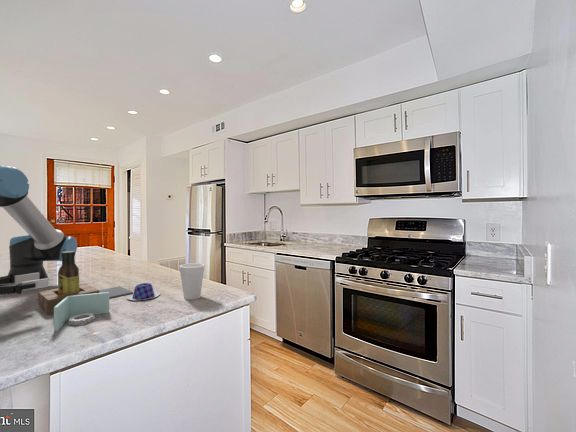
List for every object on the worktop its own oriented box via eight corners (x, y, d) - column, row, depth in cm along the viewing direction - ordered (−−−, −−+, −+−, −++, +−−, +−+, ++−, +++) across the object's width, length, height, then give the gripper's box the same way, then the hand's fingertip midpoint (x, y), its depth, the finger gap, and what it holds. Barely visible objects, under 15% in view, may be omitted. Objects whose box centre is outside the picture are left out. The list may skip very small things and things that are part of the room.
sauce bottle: (58, 303, 107) (57, 251, 106) (79, 300, 111) (78, 249, 110) (58, 308, 102) (57, 253, 101) (79, 304, 106) (78, 251, 105)
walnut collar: (38, 305, 105) (38, 291, 105) (86, 295, 117) (86, 283, 117) (48, 314, 96) (48, 300, 96) (99, 303, 107) (99, 290, 107)
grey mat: (88, 293, 120) (88, 292, 120) (119, 287, 129) (119, 286, 129) (100, 300, 111) (100, 298, 111) (132, 293, 120) (132, 291, 120)
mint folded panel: (54, 332, 83) (53, 307, 83) (67, 318, 94) (66, 296, 94) (102, 326, 88) (102, 302, 88) (109, 313, 99) (109, 292, 99)
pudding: (141, 292, 123) (141, 280, 123) (166, 294, 120) (166, 281, 120) (119, 300, 111) (119, 287, 111) (146, 303, 109) (146, 289, 109)
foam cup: (196, 301, 109) (196, 268, 109) (175, 300, 111) (174, 267, 111) (208, 294, 119) (208, 263, 118) (188, 293, 121) (188, 262, 120)
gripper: (-51, 297, 92) (36, 283, 108) (-49, 315, 76) (52, 296, 92) (-52, 274, 92) (35, 264, 108) (-50, 287, 76) (51, 273, 92)
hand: (43, 279), depth 100 cm, fingers open, 13 cm apart
